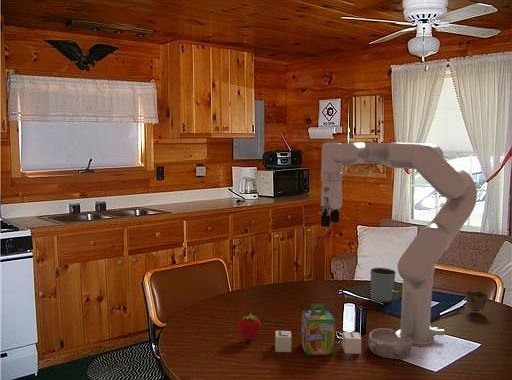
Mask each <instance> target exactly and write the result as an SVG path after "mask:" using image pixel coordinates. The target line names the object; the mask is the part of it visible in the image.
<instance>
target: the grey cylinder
mask: <svg viewBox="0 0 512 380" xmlns="http://www.w3.org/2000/svg"><path fill="white" fill-rule="evenodd" d="M396 274H397V273H396V270H394V269H392V268H391V269H390V268H386V267H373V268H370V298H371V299H372V301H374V302H380V303H388V302H391V301H392V299H393V291H394V287H395V286H394V283H395V279H396Z"/></svg>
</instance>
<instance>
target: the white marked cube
mask: <svg viewBox="0 0 512 380" xmlns="http://www.w3.org/2000/svg"><path fill="white" fill-rule="evenodd" d="M274 334H275V337H274V339H275V340H274V345H275V346H274V349H275V353H292V339H293V338H292V332H291V330H275V333H274Z"/></svg>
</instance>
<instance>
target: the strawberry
mask: <svg viewBox="0 0 512 380" xmlns="http://www.w3.org/2000/svg"><path fill="white" fill-rule="evenodd" d="M261 326H262V323H261V320H260V319H259V317H257V316H256V315H253V314H252V310H250V314H249V315H243V316H242V318H241V319H240V320H239V321H238V328H239V331H240V333H241V334H242V335H243V336H244V338H246V340H247V341H252V340H253V339H254V338H255V336H256V335H257V334H258V333H259V331H260V329H261Z"/></svg>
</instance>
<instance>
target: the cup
mask: <svg viewBox="0 0 512 380" xmlns="http://www.w3.org/2000/svg"><path fill="white" fill-rule="evenodd" d="M487 299H488V294H487V293H484V292H482V291H480V290H478V291H477V290H475V291H474V292H472V290H467V291H466V302H467V306H468V307H469V309H470V313H472V314H474V315H480V314H481V312H482V310H484V308H485V306H486V305H487Z"/></svg>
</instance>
